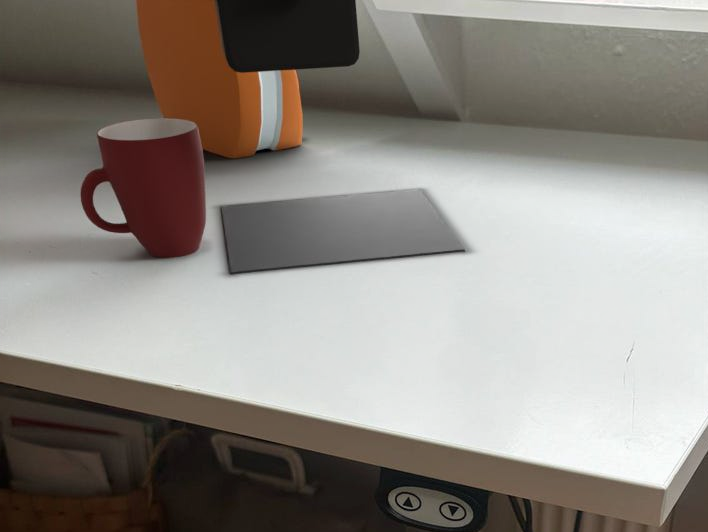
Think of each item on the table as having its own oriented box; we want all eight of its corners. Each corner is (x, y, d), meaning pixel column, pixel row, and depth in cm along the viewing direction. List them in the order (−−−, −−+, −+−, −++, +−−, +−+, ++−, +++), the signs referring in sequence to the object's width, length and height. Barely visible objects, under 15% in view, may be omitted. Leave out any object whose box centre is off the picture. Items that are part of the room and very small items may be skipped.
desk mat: (231, 279, 78) (230, 272, 78) (222, 212, 93) (221, 205, 93) (465, 256, 82) (465, 249, 81) (420, 195, 97) (419, 188, 96)
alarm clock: (321, 149, 112) (294, -91, 97) (250, 165, 107) (210, -86, 92) (225, 121, 125) (189, -95, 110) (158, 134, 120) (110, -91, 105)
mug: (116, 283, 78) (82, 150, 71) (87, 257, 83) (52, 131, 77) (235, 257, 82) (212, 130, 76) (201, 234, 87) (177, 114, 81)
